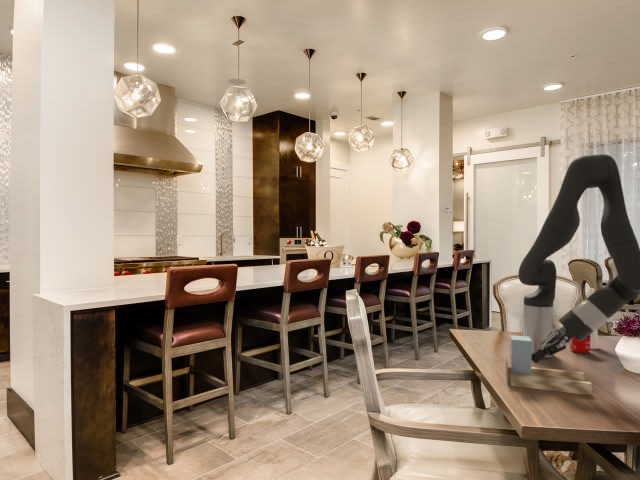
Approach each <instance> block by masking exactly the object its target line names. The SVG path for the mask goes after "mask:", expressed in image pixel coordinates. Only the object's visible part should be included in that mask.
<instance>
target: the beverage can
mask: <svg viewBox="0 0 640 480" xmlns="http://www.w3.org/2000/svg"><path fill="white" fill-rule="evenodd" d="M590 335H591V334H590ZM590 335H589V336H587V337H586V338H585V339H584V340H582V341H579V340H578V339H576V338H575V337H573V338H572V339H571V340H570V341H569V342H570V343H569V349H570V350H571V351H572V352H574V353H577V354H587V353H590V351H591V349H590Z"/></svg>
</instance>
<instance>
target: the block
mask: <svg viewBox="0 0 640 480" xmlns="http://www.w3.org/2000/svg"><path fill="white" fill-rule="evenodd" d="M509 344H510V347H509V348H510V349H509V352H510V353H509V355H510V357H509V358H510V361H511V366H512V374H522V375H531V367H532V360H531V349H532V341H531V339H530V337H526V336H523V335H512V334H510V343H509Z"/></svg>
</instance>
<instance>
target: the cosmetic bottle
mask: <svg viewBox="0 0 640 480" xmlns="http://www.w3.org/2000/svg"><path fill="white" fill-rule="evenodd" d="M594 292H595V288H589V287H588V288H587V291H586V299H587V298H588V297H589V296H590V295H592V294H593V293H594ZM600 348H601V347H600V343H599V334H598V329H596V330H595V331H594V332H592V333H591V335H590V350H599V349H600Z"/></svg>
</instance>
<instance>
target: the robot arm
mask: <svg viewBox="0 0 640 480" xmlns="http://www.w3.org/2000/svg"><path fill="white" fill-rule="evenodd" d="M593 188H598V189H599V191H600V193H601V196H602V199H603V211H602V215H601V221H600V232H601V236H602V239H603V242H604V245H605V247H606V249H607V250H606V251H607V252H608V254H609V256H610V258H611V259H612V260H613V264H614V267H615V269H616V272H617V274H616V276H615V277H613V278H612V279H611V280H610V281H609V282H607V284H605V285H604V286H602V287H600V288H598V289H597V290H596V291H595V290H594V291H595V292H594V293H593V294H592V295H590V296H589V297H588V298H587V297H586V298H585V299H584V300H583V301H581V302H579V303H577V304H576V305H575V306H573V308H571V309H570V310H569V311H568V312H566V313H565V314H564V315H563V316H561V317H560V318H559V319H558V322H559V323H560V324H561V325H562V327H559V329H558V328H557V329H555V327H554V301H555V298H556V287H557V266H556V264H555V263H554V261H553V260H551V259H548V258H549V257H551V256H552V255H553V254H555V253H557V252H558V251H559V250H562V249H563V248H565V246H567V245H568V244H569V243H570V242H571V240H572V239H573V237H574V236H575V234H576V232H577V231H578V228H579V227H580V224H581V218H580V213H579V210H578V208H579V207H578V204H579V202H580V199H581V198H582V196H583V194H584V193H585V191H586V190H587V189H593ZM623 190H624V189H623V186H622V181H621V176H620V171H619V167H618V164H617V162H616V160H615V159H614V158H613V156H611V155H609V154H604V153H603V154H602V153H600V154H592V155H591V154H590V155H589V154H588V155H581V156H577V157H576V158H574V159H573V160H572V161H571V162H570V163H569V165H568V167H567V170H566V172H565V175H564V178H563V179H562V183H561V185H560V189H559V191H558V194H557V196H556V199H555V201H554V203H553V205H552V206H551V209H550V211H549V213H548V214H547V217H546V219H545V221H544V223H543V224H542V227H541V228H540V231H539V232H538V235H537V237H536V239H535V241H534V243H533V245H532V246H531V248H530V249H529V251H528V252H527V253H526V255H525V257H524V258H523V259H522V261H521V263H520V266H519V268H518V280H519V281H520V283H521V284H523V285H525V286H531V287H532V286H534V287H535V286H536V287H537V289H536V290H535V291H534V292H532V293H529V294H527V295H525V296H524V297H523V325H522V326H523V330H522V331H523V334H522V336H526V337H530V339H531V341H532V349H531V353H532V355H531V362H532V363H533V362H534V363H535V364H538V363H539V362H540V361H541V360H542V359H544V358H552V357H553V356H554V355H555V354H557V353H559V352H561V351H564V350H565V349H567V346H568V345H570V340H571V339H572V338H573V337H575V338H576V339H578V340H579V341H582V340H584V339H585V338H586V337H587V336H589V335H590V334H591V333H592V332H594V331H595V330H596V329H597V330H598V329H599V328H600V327H602V325H604V324H605V322H606V321H608V319H610V318H611V317H613V315H615V314H617V312H619V311H620V310H621V309H622V308H623V307H624V306H625V305H626V304H628V303H629V302H630V301H632V300H634V299H635V298H636V297H637V296H640V245H639V242H638V239H637V237H636V234H635V232H634V229H633V227H632V224H631V222H630V219H629V216H628V210H627V206H626V203H625V197H624V191H623Z"/></svg>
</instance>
